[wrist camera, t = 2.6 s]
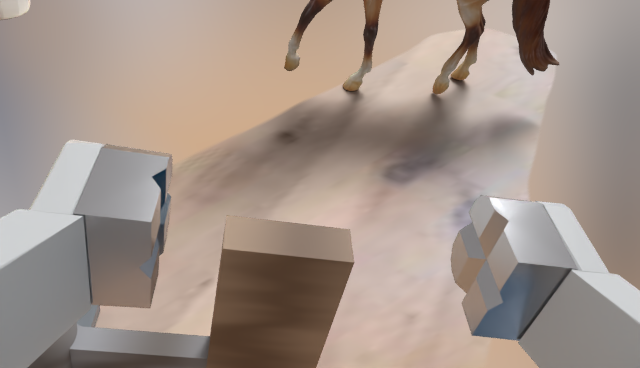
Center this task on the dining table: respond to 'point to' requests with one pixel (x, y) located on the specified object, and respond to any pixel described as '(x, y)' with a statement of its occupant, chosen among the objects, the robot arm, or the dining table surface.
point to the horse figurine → (527, 25)
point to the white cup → (13, 8)
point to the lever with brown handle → (238, 307)
